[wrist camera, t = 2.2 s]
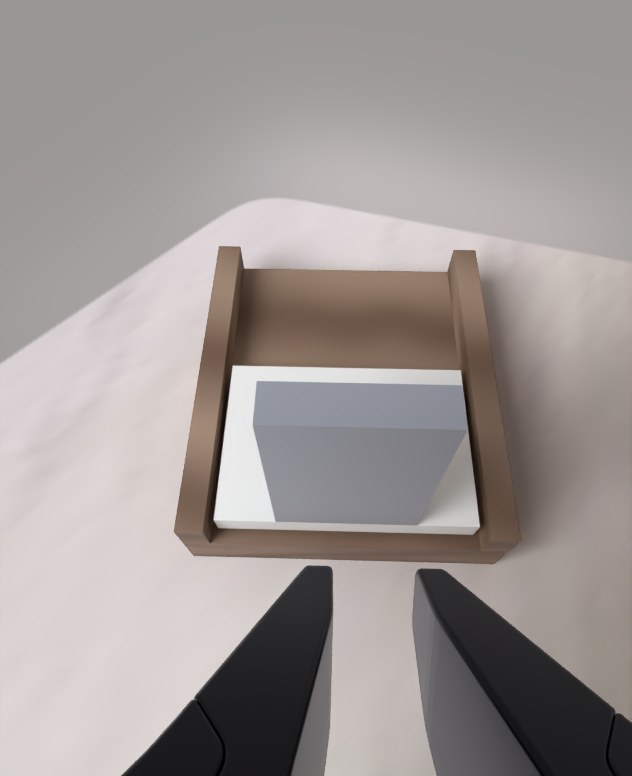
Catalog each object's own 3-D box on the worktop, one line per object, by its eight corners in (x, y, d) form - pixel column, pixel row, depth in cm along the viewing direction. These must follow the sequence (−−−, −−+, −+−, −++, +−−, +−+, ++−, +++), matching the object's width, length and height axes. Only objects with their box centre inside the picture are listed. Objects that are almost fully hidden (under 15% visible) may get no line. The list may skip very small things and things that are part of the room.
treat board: (493, 563, 22) (521, 540, 19) (193, 555, 22) (173, 531, 19) (459, 298, 29) (475, 250, 26) (229, 294, 29) (218, 246, 26)
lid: (473, 534, 20) (563, 432, 13) (218, 528, 20) (158, 423, 13) (455, 382, 24) (519, 229, 16) (236, 378, 24) (196, 224, 16)
